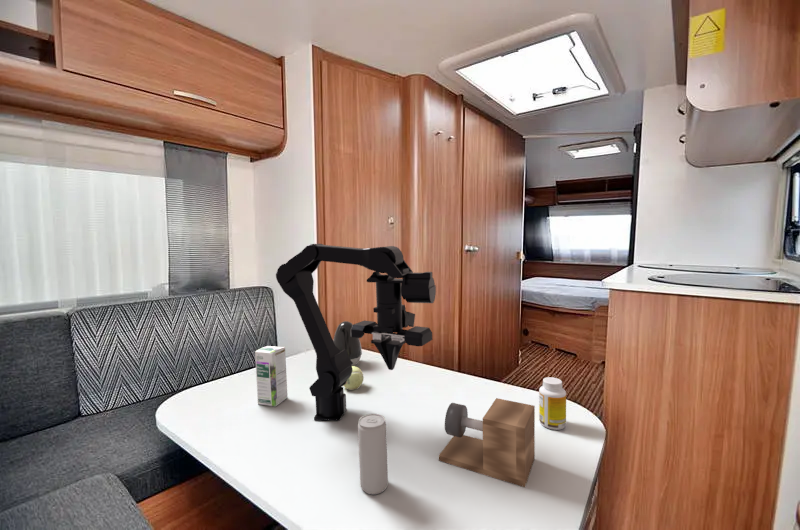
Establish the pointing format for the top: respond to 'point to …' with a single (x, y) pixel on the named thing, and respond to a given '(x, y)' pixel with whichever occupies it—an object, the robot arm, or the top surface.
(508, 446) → the mount
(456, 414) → the knob
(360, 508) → the top surface
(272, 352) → the syrup box
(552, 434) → the top surface
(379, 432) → the beverage can
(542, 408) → the supplement bottle
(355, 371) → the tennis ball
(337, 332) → the dark grey ovoid
